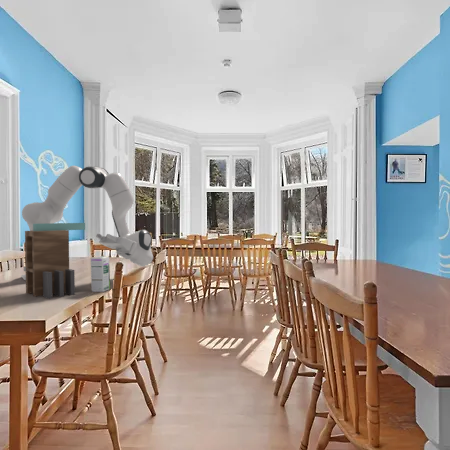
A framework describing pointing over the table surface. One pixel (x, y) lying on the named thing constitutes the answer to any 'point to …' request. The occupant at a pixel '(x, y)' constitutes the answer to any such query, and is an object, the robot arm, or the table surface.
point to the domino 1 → (47, 284)
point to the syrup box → (100, 274)
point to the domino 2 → (59, 283)
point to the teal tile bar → (58, 226)
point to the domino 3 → (70, 281)
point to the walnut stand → (45, 257)
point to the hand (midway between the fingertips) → (102, 235)
